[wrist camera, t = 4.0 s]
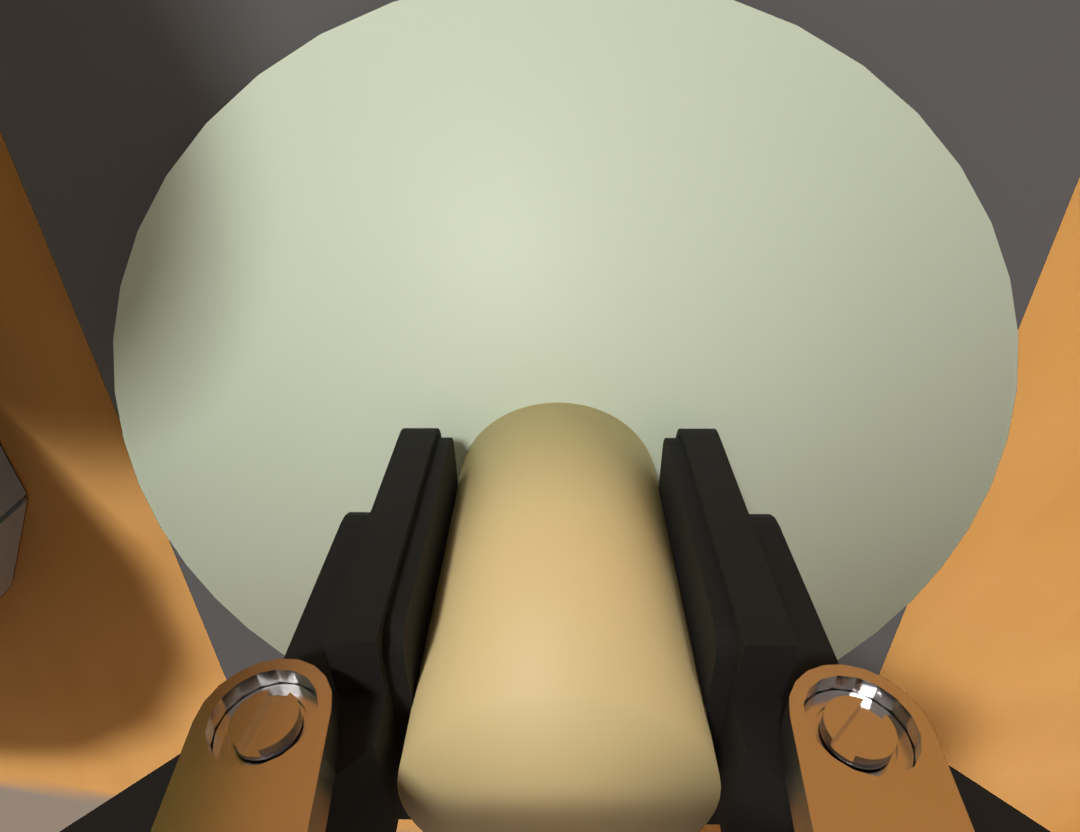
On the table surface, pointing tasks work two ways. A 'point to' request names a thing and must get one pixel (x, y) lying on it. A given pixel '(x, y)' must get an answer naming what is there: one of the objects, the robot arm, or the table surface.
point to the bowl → (9, 520)
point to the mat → (325, 3)
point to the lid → (565, 361)
